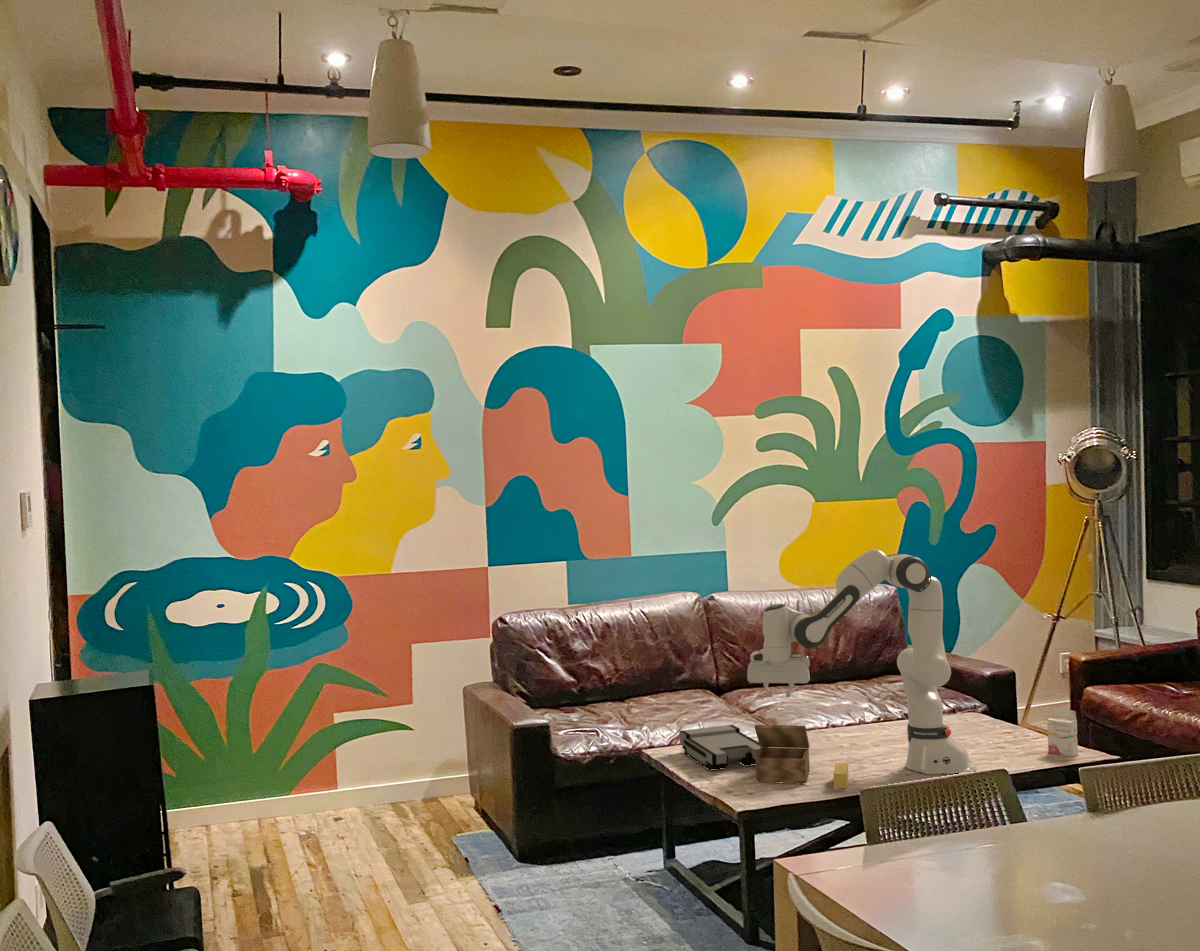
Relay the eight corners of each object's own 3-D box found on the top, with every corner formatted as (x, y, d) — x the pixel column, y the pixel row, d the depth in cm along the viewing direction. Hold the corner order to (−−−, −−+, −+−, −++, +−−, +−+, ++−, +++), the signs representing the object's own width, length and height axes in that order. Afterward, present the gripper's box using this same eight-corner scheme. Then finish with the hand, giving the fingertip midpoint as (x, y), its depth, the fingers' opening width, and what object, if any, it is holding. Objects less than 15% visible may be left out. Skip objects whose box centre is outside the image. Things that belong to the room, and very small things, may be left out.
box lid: (809, 748, 370) (809, 745, 371) (805, 728, 360) (805, 725, 360) (760, 747, 375) (760, 744, 375) (754, 727, 364) (754, 724, 365)
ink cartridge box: (1047, 753, 380) (1045, 710, 380) (1053, 750, 384) (1051, 707, 384) (1073, 756, 375) (1071, 713, 374) (1078, 753, 378) (1076, 710, 378)
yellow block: (848, 779, 361) (848, 763, 361) (846, 789, 350) (846, 773, 350) (836, 778, 362) (835, 763, 362) (834, 789, 351) (833, 773, 351)
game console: (712, 775, 373) (711, 751, 372) (680, 753, 403) (679, 730, 403) (769, 768, 378) (768, 744, 378) (733, 746, 409) (732, 724, 409)
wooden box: (809, 772, 370) (808, 748, 370) (806, 784, 357) (805, 759, 357) (761, 770, 375) (760, 747, 375) (756, 782, 361) (755, 758, 361)
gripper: (810, 652, 364) (812, 694, 364) (748, 652, 369) (749, 694, 369) (808, 656, 358) (810, 698, 358) (745, 656, 363) (747, 698, 363)
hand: (779, 696), depth 364 cm, fingers open, 5 cm apart
